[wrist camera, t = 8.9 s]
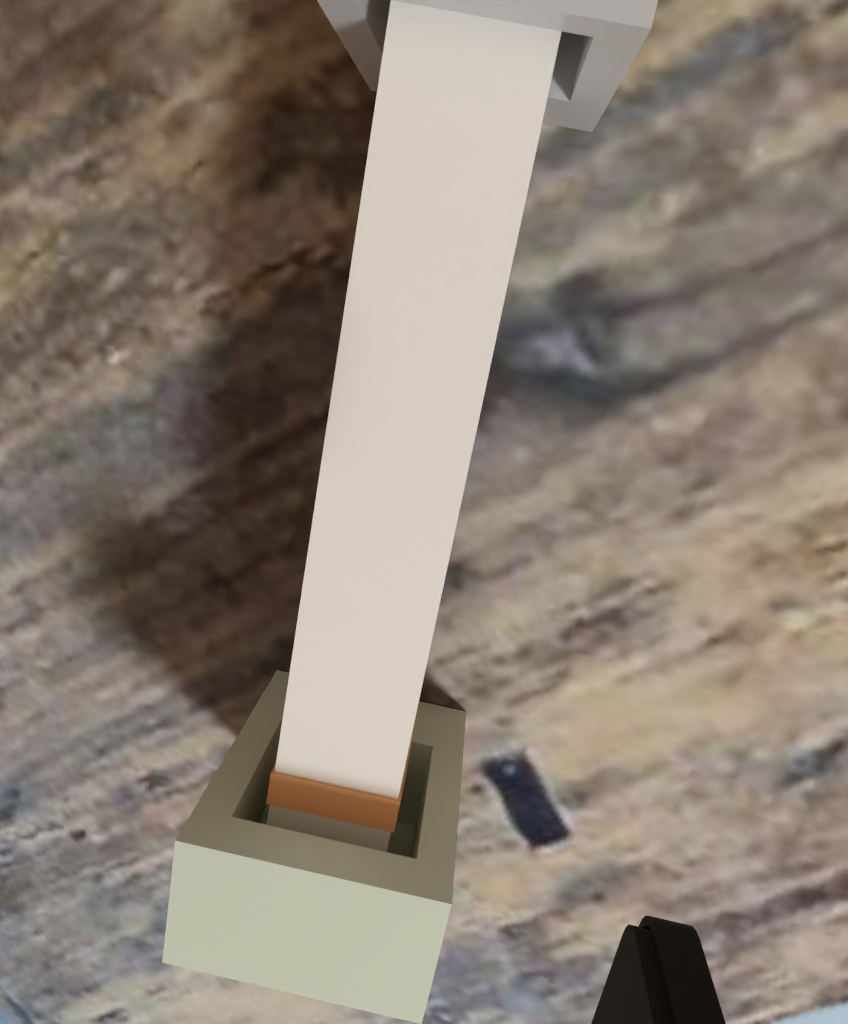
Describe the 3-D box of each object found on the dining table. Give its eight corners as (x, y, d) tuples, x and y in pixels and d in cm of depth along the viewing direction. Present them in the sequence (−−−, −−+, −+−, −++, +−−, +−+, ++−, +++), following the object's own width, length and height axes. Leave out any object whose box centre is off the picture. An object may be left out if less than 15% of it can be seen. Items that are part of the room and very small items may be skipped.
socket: (276, 669, 26) (175, 841, 18) (466, 711, 26) (451, 904, 18) (263, 762, 27) (162, 962, 19) (444, 803, 27) (421, 1024, 19)
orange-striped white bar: (425, -57, 17) (407, -146, 13) (576, -30, 17) (597, -114, 13) (289, 794, 24) (255, 876, 20) (395, 818, 24) (378, 904, 20)
